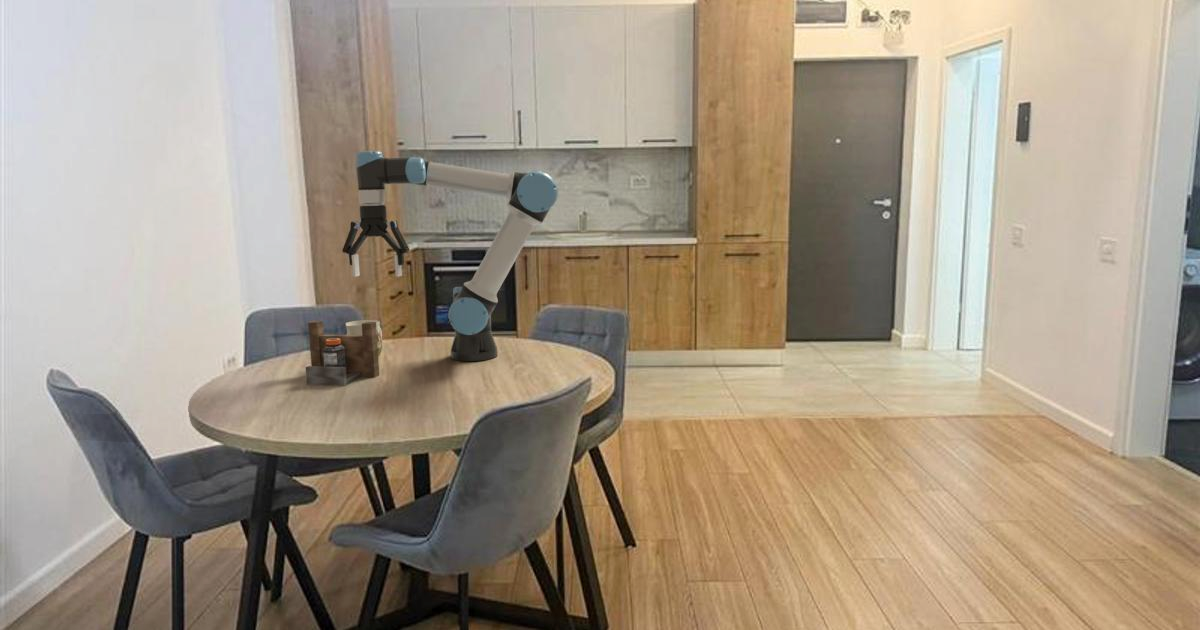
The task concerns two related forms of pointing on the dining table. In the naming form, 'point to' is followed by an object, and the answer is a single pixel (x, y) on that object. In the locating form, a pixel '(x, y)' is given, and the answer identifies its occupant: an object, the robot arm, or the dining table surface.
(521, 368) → the dining table surface
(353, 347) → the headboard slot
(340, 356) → the pill bottle
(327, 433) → the dining table surface
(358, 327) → the pitcher
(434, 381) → the dining table surface
